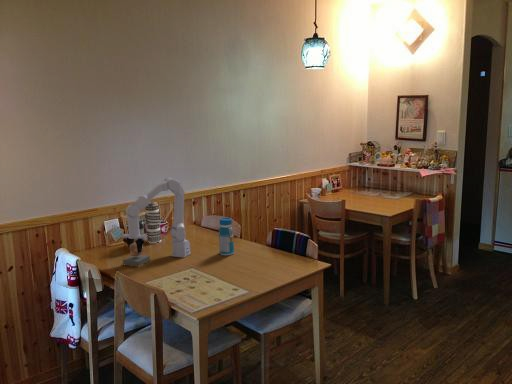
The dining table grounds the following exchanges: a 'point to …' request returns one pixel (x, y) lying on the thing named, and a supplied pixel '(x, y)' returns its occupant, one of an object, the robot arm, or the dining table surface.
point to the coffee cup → (140, 231)
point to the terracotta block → (134, 250)
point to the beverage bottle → (226, 237)
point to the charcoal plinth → (136, 260)
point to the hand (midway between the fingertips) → (135, 251)
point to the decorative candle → (153, 223)
